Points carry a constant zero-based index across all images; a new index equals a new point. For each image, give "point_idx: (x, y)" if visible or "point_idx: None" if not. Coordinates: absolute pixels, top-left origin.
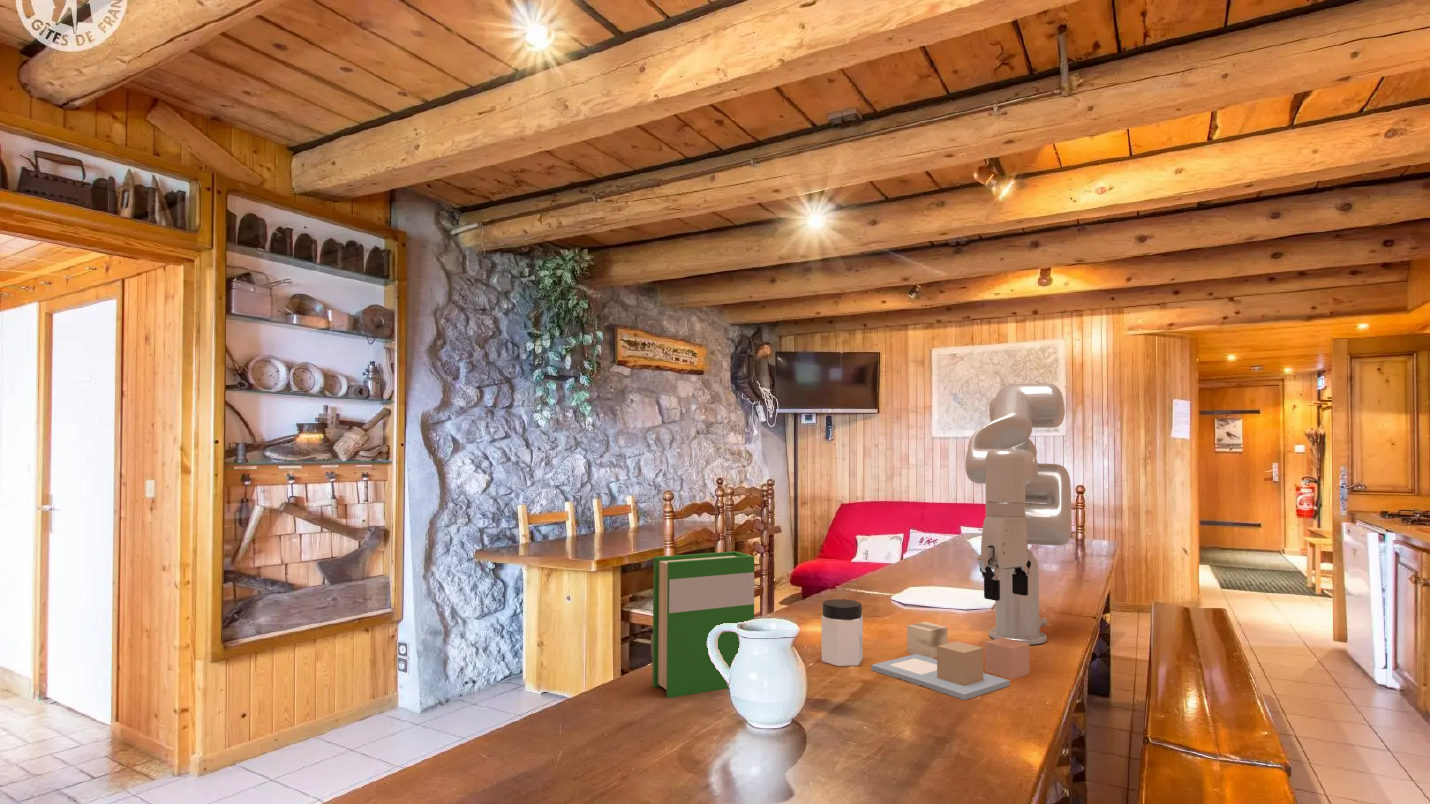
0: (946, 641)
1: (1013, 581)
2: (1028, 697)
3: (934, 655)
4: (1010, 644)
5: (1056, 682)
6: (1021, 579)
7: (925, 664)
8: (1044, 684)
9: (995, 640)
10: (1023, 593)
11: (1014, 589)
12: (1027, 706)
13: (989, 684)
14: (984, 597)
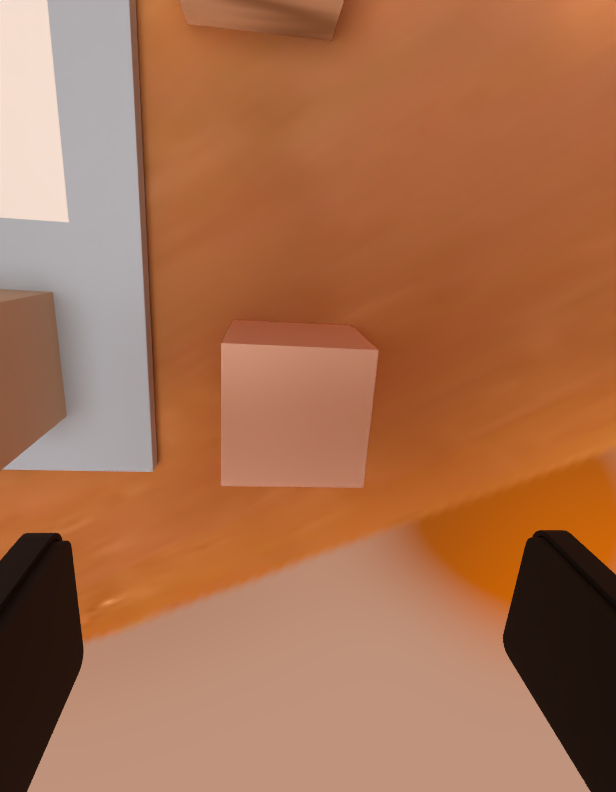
0: (332, 4)
1: (612, 638)
2: (104, 551)
3: (224, 21)
4: (281, 446)
5: (318, 527)
6: (612, 766)
7: (13, 117)
8: (267, 517)
9: (292, 361)
10: (511, 639)
11: (544, 579)
12: None
13: (42, 457)
14: (26, 535)
